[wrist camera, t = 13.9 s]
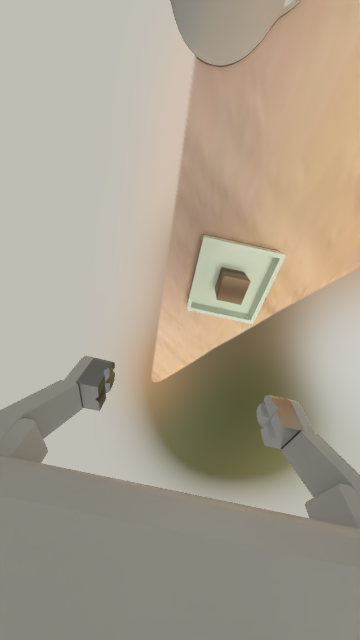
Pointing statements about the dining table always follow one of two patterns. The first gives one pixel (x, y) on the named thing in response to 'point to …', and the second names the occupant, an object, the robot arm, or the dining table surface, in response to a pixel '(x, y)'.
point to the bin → (236, 256)
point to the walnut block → (231, 286)
